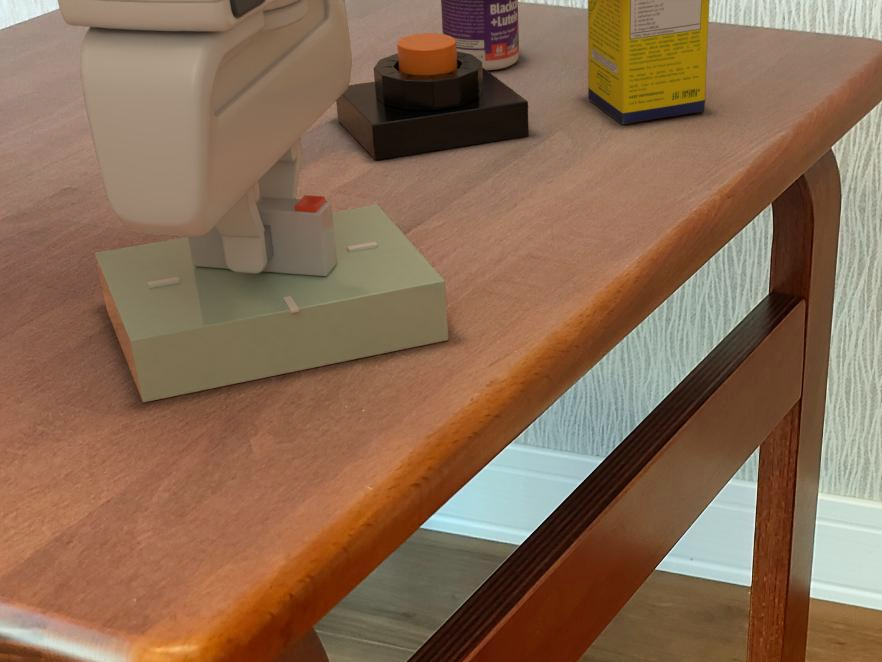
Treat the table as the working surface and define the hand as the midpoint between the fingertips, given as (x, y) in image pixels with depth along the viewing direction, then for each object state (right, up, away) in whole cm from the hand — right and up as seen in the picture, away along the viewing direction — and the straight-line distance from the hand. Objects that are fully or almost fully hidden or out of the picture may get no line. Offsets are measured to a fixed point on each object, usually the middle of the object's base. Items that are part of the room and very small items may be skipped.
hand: (264, 252), depth 64 cm
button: (+6, +16, +22) cm, 28 cm away
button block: (+6, +13, +24) cm, 28 cm away
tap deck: (0, -3, +2) cm, 4 cm away
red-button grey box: (0, -1, 0) cm, 1 cm away
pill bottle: (+8, +21, +36) cm, 42 cm away
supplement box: (+19, +15, +27) cm, 37 cm away
